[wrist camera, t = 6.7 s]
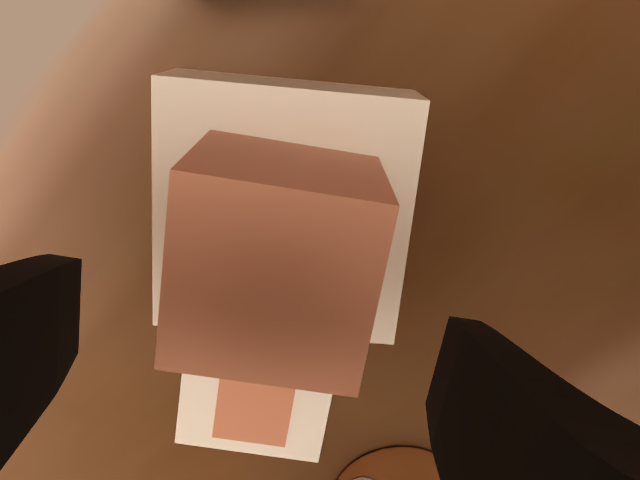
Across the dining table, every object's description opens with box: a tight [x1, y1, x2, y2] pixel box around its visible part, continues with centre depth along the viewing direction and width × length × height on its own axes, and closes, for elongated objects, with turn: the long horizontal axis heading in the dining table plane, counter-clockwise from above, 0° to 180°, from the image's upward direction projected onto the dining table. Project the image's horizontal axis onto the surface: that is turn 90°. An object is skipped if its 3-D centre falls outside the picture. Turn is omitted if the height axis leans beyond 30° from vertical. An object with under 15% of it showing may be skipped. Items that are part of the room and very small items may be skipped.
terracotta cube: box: [154, 130, 400, 398], centre depth 16 cm, size 5×5×5 cm
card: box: [175, 374, 332, 463], centre depth 24 cm, size 6×4×1 cm
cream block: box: [151, 68, 430, 345], centre depth 20 cm, size 8×8×4 cm
